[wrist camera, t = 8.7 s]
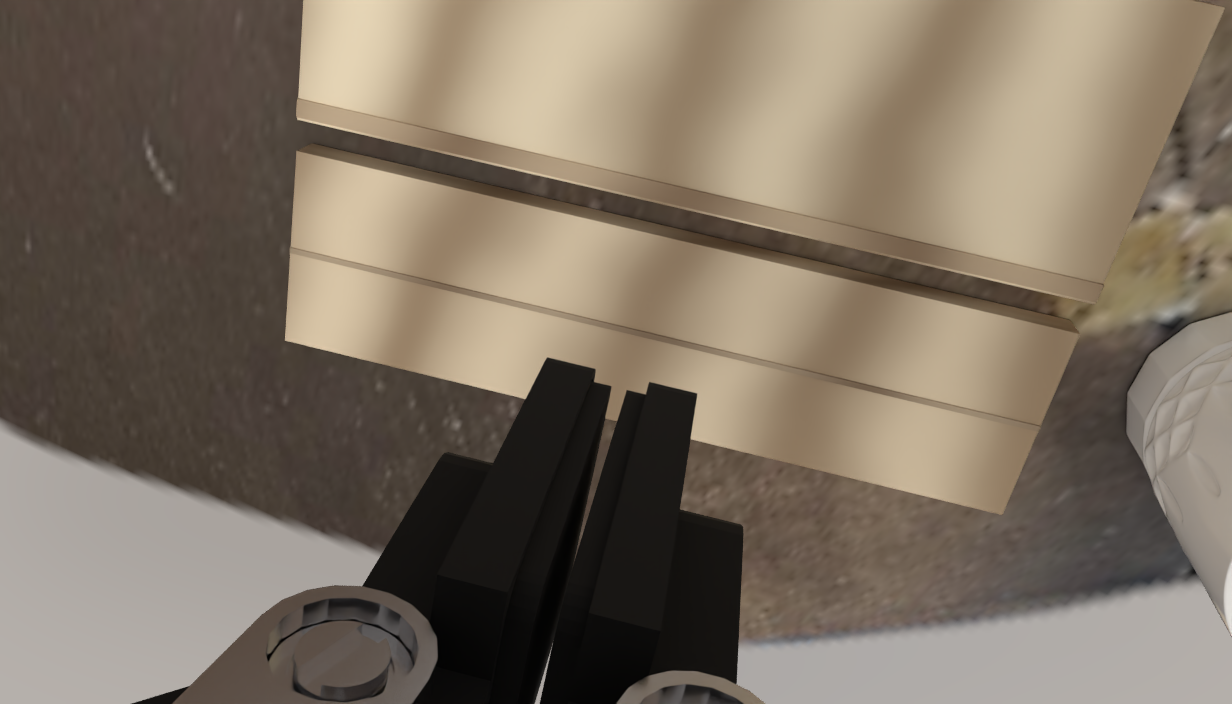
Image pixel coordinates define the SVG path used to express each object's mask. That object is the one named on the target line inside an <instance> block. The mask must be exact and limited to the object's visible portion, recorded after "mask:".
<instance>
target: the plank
mask: <svg viewBox="0 0 1232 704" xmlns="http://www.w3.org/2000/svg"><path fill="white" fill-rule="evenodd" d="M1224 9H1225V8H1224V7H1221V6H1217V5H1214V4H1210V3H1206V2H1201V1H1197V0H303V20H302V39H301V58H300V78H299V97H298V99H297V111H296V117H297V120H302V121H306V122H310V123H314V124H319V125H323V126H327V127H332V128H336V129H340V130H345V131H349V132H353V133H358V134H362V135H366V136H370V137H375V138H379V139H383V140H388V141H392V142H396V143H401V144H405V145H409V146H414V147H418V148H422V149H427V150H431V151H435V152H439V153H444V154H448V155H452V156H457V157H461V158H465V159H470V160H474V161H478V162H483V163H487V164H491V165H495V166H500V167H504V168H508V169H513V170H517V171H521V172H526V173H530V174H534V175H539V176H543V177H547V178H551V179H556V180H560V181H564V182H569V183H573V184H577V185H582V186H586V187H590V188H595V189H599V190H603V191H607V192H612V193H616V194H620V195H625V196H629V197H633V198H638V199H642V200H646V201H651V202H655V203H659V204H664V205H668V206H672V207H676V208H681V209H685V210H689V211H694V212H698V213H702V214H707V215H711V216H715V217H720V218H724V219H728V220H732V221H737V222H741V223H745V224H750V225H754V226H758V227H763V228H767V229H771V230H776V231H780V232H784V233H788V234H793V235H797V236H801V237H806V238H810V239H814V240H819V241H823V242H827V243H832V244H836V245H840V246H845V247H849V248H853V249H857V250H862V251H866V252H870V253H875V254H879V255H883V256H888V257H892V258H896V259H901V260H905V261H909V262H913V263H918V264H922V265H926V266H931V267H935V268H939V269H944V270H948V271H952V272H957V273H961V274H965V275H969V276H974V277H978V278H982V279H987V280H991V281H995V282H1000V283H1004V284H1008V285H1013V286H1017V287H1021V288H1026V289H1030V290H1034V291H1038V292H1043V293H1047V294H1051V295H1056V296H1060V297H1064V298H1069V299H1073V300H1077V301H1082V302H1086V303H1090V304H1095V303H1097V300H1098V298H1099V296H1100V293H1101V291H1102V289H1103V287H1104V284H1103V283H1104V281H1105V279H1106V277H1107V274H1108V272H1109V270H1110V268H1111V265H1112V263H1113V261H1114V258H1115V256H1116V254H1117V252H1118V249H1119V247H1120V245H1121V243H1122V240H1123V238H1124V236H1125V234H1126V231H1127V229H1128V227H1129V224H1130V222H1131V220H1132V218H1133V215H1134V213H1135V211H1136V209H1137V206H1138V204H1139V202H1140V200H1141V197H1142V195H1143V193H1144V190H1145V188H1146V186H1147V184H1148V181H1149V179H1150V177H1151V175H1152V172H1153V170H1154V168H1155V166H1156V163H1157V161H1158V159H1159V157H1160V154H1161V152H1162V150H1163V147H1164V145H1165V143H1166V141H1167V138H1168V136H1169V134H1170V132H1171V129H1172V127H1173V125H1174V123H1175V120H1176V118H1177V116H1178V113H1179V111H1180V109H1181V107H1182V104H1183V102H1184V100H1185V98H1186V95H1187V93H1188V91H1189V89H1190V86H1191V84H1192V82H1193V79H1194V77H1195V75H1196V73H1197V70H1198V68H1199V66H1200V64H1201V61H1202V59H1203V57H1204V55H1205V52H1206V50H1207V48H1208V45H1209V43H1210V41H1211V39H1212V36H1213V34H1214V32H1215V30H1216V27H1217V25H1218V23H1219V21H1220V18H1221V16H1222V14H1223V11H1224Z"/></svg>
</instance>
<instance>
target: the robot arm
mask: <svg viewBox="0 0 1232 704" xmlns="http://www.w3.org/2000/svg"><path fill="white" fill-rule="evenodd" d="M595 373H596V369H594V368H590V367H586V366H582V365H577V364H573V363H569V362H565V361H561V360H557V359H552V358H548V357H547V358H546V360H545V362H544V364H543V366H542V368H541V370H540V372H539V374H538V376H537V378H536V380H535V382H534V384H533V385H532V387H531V389H530V391H529V393H528V395H527V397H526V399H525V401H524V403H523V405H522V407H521V409H520V411H519V413H518V415H517V417H516V419H515V421H514V423H513V425H512V427H511V429H510V431H509V433H508V435H507V437H506V439H505V441H504V443H503V445H502V447H501V449H500V451H499V453H498V455H497V457H496V459H495V461H494V463H489V462H485V461H481V460H477V459H473V458H469V457H465V456H461V455H457V454H453V453H449V452H447V453H444V454H443V455H442V457H441V458H440V459H439V461H438V462H437V464H436V466H435V467H434V469H433V470H432V472H431V474H430V475H429V477H428V479H427V480H426V482H425V484H424V485H423V487H422V489H421V490H420V492H419V494H418V495H417V497H416V499H415V500H414V502H413V503H412V505H411V507H410V508H409V510H408V512H407V513H406V515H405V517H404V518H403V520H402V522H401V523H400V525H399V527H398V528H397V530H396V531H395V533H394V535H393V536H392V538H391V540H390V541H389V543H388V545H387V546H386V548H385V550H384V551H383V553H382V555H381V556H380V558H379V560H378V561H377V563H376V564H375V566H374V568H373V569H372V571H371V573H370V575H369V576H368V578H367V579H366V581H365V583H364V584H363V586H362V587H361V586H336V585H335V586H328V587H322V588H316V589H311V590H306V591H304V592H301V593H299V594H296V595H294V596H291V597H288V598H286V599H283V600H281V601H280V602H279V603H277V604H276V605H275V606H273V607H272V608H270V609H269V610H268V611H266V612H265V613H264V614H262V615H261V616H260V617H259V618H258V619H257V620H256V621H255V622H254V623H253V624H252V625H251V626H250V627H249V628H248V629H247V630H246V631H245V632H244V633H243V634H242V635H241V636H240V637H239V638H238V639H237V640H236V641H235V642H234V643H233V644H232V645H231V646H230V647H229V648H228V649H227V650H226V651H225V652H224V653H223V654H222V655H221V656H220V657H219V658H218V659H217V660H216V661H215V662H214V663H213V664H212V665H211V666H210V667H209V668H208V669H207V670H205V672H203V673H202V674H201V675H200V676H199V677H198V678H197V679H196V680H195V682H193V684H191V685H190V686H188V687H185V688H182V689H179V690H175V691H172V692H169V693H165V694H162V695H159V696H155V697H153V698H149V699H146V700H142V701H139V702H136V703H132V704H534V703H535V700H536V697H537V694H538V690H539V687H540V684H541V680H542V677H543V674H544V670H545V667H546V663H547V660H548V657H549V654H550V650H551V647H552V650H551V654H550V660H549V664H548V668H547V673H546V678H545V682H544V687H543V692H542V696H541V701H540V704H765V703H764V702H763V701H761V700H760V699H759V698H757V697H756V696H755V695H754V694H753V693H751V692H750V691H748V690H746V689H744V688H742V687H740V686H738V685H736V683H737V662H738V640H739V618H740V597H741V575H742V553H743V526H742V525H740V524H736V523H732V522H728V521H724V520H720V519H716V518H712V517H708V516H704V515H700V514H696V513H692V512H688V511H684V510H680V504H681V497H682V491H683V484H684V478H685V471H686V465H687V458H688V452H689V445H690V439H691V432H692V426H693V419H694V413H695V406H696V400H697V393H694V392H689V391H685V390H681V389H677V388H673V387H669V386H665V385H660V384H656V383H652V382H649V384H648V388H647V392H646V394H642V393H638V392H634V391H629V390H627V391H626V394H625V397H624V401H623V404H622V407H621V411H620V414H619V417H618V420H617V424H616V427H615V430H614V434H613V437H612V440H611V443H610V447H609V450H608V453H607V457H606V460H605V463H604V467H603V470H602V473H601V476H600V480H599V483H598V486H597V490H596V493H595V496H594V500H593V503H592V506H591V509H590V513H589V516H588V519H587V523H586V526H585V529H584V532H583V536H582V539H581V542H580V546H579V549H578V552H577V556H576V559H575V554H576V550H577V545H578V540H579V536H580V531H581V527H582V522H583V518H584V513H585V508H586V504H587V499H588V495H589V490H590V485H591V481H592V476H593V472H594V467H595V462H596V458H597V453H598V449H599V444H600V440H601V435H602V430H603V426H604V421H605V417H606V412H607V407H608V403H609V398H610V393H611V386H609V385H605V384H600V383H596V382H594V380H595ZM574 559H575V562H574ZM573 563H574V565H573ZM572 568H573V569H572ZM553 640H554V641H553ZM552 644H553V645H552Z"/></svg>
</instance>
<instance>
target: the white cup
mask: <svg viewBox="0 0 1232 704" xmlns="http://www.w3.org/2000/svg"><path fill="white" fill-rule="evenodd" d="M1126 434H1127V436H1128V438H1129V440H1130V441H1131V443H1132V445H1133V446H1134V448H1135V450H1136V452H1137V453H1138V455H1139V457H1140V458H1141V460H1142V462H1143V464H1144V466H1145V468H1146V470H1147V473H1148V475H1149V477H1150V480H1151V483H1152V488H1153V492H1154V494H1155V496H1156V497H1157V499H1158V501H1159V503H1160V505H1161V507H1162V510H1163V512H1164V514H1165V516H1166V518H1167V520H1168V522H1169V523H1170V525H1171V526H1172V528H1173V530H1174V533H1175V535H1176V537H1177V539H1178V541H1179V543H1180V545H1181V547H1182V549H1183V551H1184V552H1185V554H1186V556H1187V557H1188V559H1189V561H1190V562H1191V564H1192V566H1193V568H1194V569H1195V571H1196V573H1197V575H1198V577H1199V578H1200V580H1201V582H1202V584H1203V586H1204V587H1205V589H1206V591H1207V593H1208V594H1209V597H1210V598H1211V600H1212V602H1213V604H1214V606H1215V608H1216V610H1217V611H1218V613H1219V615H1220V617H1221V619H1222V620H1223V622H1224V624H1225V626H1226V628H1227V630H1228V631H1229V633H1230V635H1231V637H1232V312H1229V313H1226V314H1222V315H1219V316H1215V317H1212V318H1208V319H1205V320H1202V321H1198V322H1195V323H1191V324H1189V325H1188V326H1186V327H1185V328H1184V329H1182V330H1181V331H1180V332H1178V333H1177V334H1176V335H1174V336H1173V337H1172V338H1170V339H1169V340H1167V341H1166V342H1165V343H1163V344H1162V345H1161V346H1159V347H1158V348H1157V349H1155V350H1154V351H1153V352H1151V353H1150V354H1149V356H1148V358H1147V359H1146V361H1145V363H1144V365H1143V366H1142V368H1141V370H1140V371H1139V373H1138V375H1137V377H1136V378H1135V380H1134V382H1133V384H1132V385H1131V387H1130V389H1129V391H1128V393H1127V422H1126Z"/></svg>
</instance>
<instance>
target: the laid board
mask: <svg viewBox="0 0 1232 704" xmlns="http://www.w3.org/2000/svg"><path fill="white" fill-rule="evenodd" d="M1079 335H1080V333H1079V332H1078V330H1077V329H1076V328H1075V326H1074V325H1073V324H1072V322H1071V321H1070V320H1067V319H1063V318H1059V317H1054V316H1050V315H1046V314H1042V313H1037V312H1033V311H1029V310H1024V309H1020V308H1016V307H1012V306H1007V305H1003V304H999V303H994V302H990V301H986V300H982V299H977V298H973V297H969V296H964V295H960V294H956V293H952V292H947V291H943V290H939V289H934V288H930V287H926V286H921V285H917V284H913V283H909V282H904V281H900V280H896V279H891V278H887V277H883V276H879V275H874V274H870V273H866V272H861V271H857V270H853V269H849V268H844V267H840V266H836V265H831V264H827V263H823V262H819V261H814V260H810V259H806V258H801V257H797V256H793V255H788V254H784V253H780V252H776V251H771V250H767V249H763V248H758V247H754V246H750V245H746V244H741V243H737V242H733V241H728V240H724V239H720V238H716V237H711V236H707V235H703V234H698V233H694V232H690V231H686V230H681V229H677V228H673V227H668V226H664V225H660V224H655V223H651V222H647V221H643V220H638V219H634V218H630V217H625V216H621V215H617V214H613V213H608V212H604V211H600V210H595V209H591V208H587V207H583V206H578V205H574V204H570V203H565V202H561V201H557V200H553V199H548V198H544V197H540V196H535V195H531V194H527V193H522V192H518V191H514V190H510V189H505V188H501V187H497V186H492V185H488V184H484V183H480V182H475V181H471V180H467V179H462V178H458V177H454V176H450V175H445V174H441V173H437V172H432V171H428V170H424V169H420V168H415V167H411V166H407V165H402V164H398V163H394V162H389V161H385V160H381V159H377V158H372V157H368V156H364V155H359V154H355V153H351V152H347V151H342V150H338V149H334V148H329V147H325V146H321V145H317V144H310V145H308V146H306V147H304V148H302V149H300V150H298V151H297V154H296V171H295V187H294V203H293V220H292V236H291V247H290V268H289V285H288V301H287V317H286V334H285V341H289V342H293V343H298V344H302V345H306V346H310V347H314V348H318V349H322V350H326V351H330V352H335V353H339V354H343V355H347V356H351V357H355V358H359V359H363V360H367V361H372V362H376V363H380V364H384V365H388V366H392V367H396V368H400V369H404V370H409V371H413V372H417V373H421V374H425V375H429V376H433V377H437V378H441V379H446V380H450V381H454V382H458V383H462V384H466V385H470V386H474V387H478V388H483V389H487V390H491V391H495V392H499V393H503V394H507V395H511V396H515V397H520V398H524V399H526V397H527V395H528V393H529V391H530V389H531V387H532V385H533V384H534V382H535V380H536V378H537V376H538V374H539V372H540V370H541V368H542V366H543V364H544V362H545V360H546V358H547V357H548V358H552V359H557V360H561V361H565V362H569V363H573V364H577V365H582V366H586V367H590V368H594V369H596V373H595V380H594V382H596V383H600V384H605V385H609V386H611V393H610V398H609V403H608V407H607V412H606V417H605V418H606V419H610V420H614V421H617V420H618V417H619V414H620V411H621V407H622V404H623V401H624V397H625V394H626V391H627V390H629V391H634V392H638V393H642V394H646V392H647V388H648V384H649V382H652V383H656V384H660V385H665V386H669V387H673V388H677V389H681V390H685V391H689V392H694V393H697V400H696V406H695V413H694V419H693V426H692V432H691V439H692V440H696V441H700V442H704V443H709V444H713V445H717V446H721V447H725V448H729V449H733V450H737V451H741V452H746V453H750V454H754V455H758V456H762V457H766V458H770V459H774V460H778V461H783V462H787V463H791V464H795V465H799V466H803V467H807V468H811V469H815V470H820V471H824V472H828V473H832V474H836V475H840V476H844V477H848V478H852V479H857V480H861V481H865V482H869V483H873V484H877V485H881V486H885V487H889V488H894V489H898V490H902V491H906V492H910V493H914V494H918V495H922V496H926V497H931V498H935V499H939V500H943V501H947V502H951V503H955V504H959V505H963V506H968V507H972V508H976V509H980V510H984V511H988V512H992V513H996V514H1000V515H1003V512H1004V510H1005V508H1006V505H1007V503H1008V501H1009V498H1010V496H1011V494H1012V491H1013V489H1014V487H1015V484H1016V482H1017V480H1018V477H1019V475H1020V473H1021V470H1022V468H1023V466H1024V463H1025V461H1026V459H1027V456H1028V454H1029V452H1030V449H1031V447H1032V445H1033V442H1034V440H1035V438H1036V435H1037V433H1038V432H1039V431H1040V428H1041V424H1042V421H1043V419H1044V417H1045V415H1046V412H1047V410H1048V408H1049V405H1050V403H1051V401H1052V398H1053V396H1054V394H1055V391H1056V389H1057V387H1058V384H1059V382H1060V380H1061V377H1062V375H1063V373H1064V370H1065V368H1066V366H1067V363H1068V361H1069V359H1070V356H1071V354H1072V352H1073V349H1074V347H1075V345H1076V342H1077V340H1078V338H1079Z"/></svg>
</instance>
